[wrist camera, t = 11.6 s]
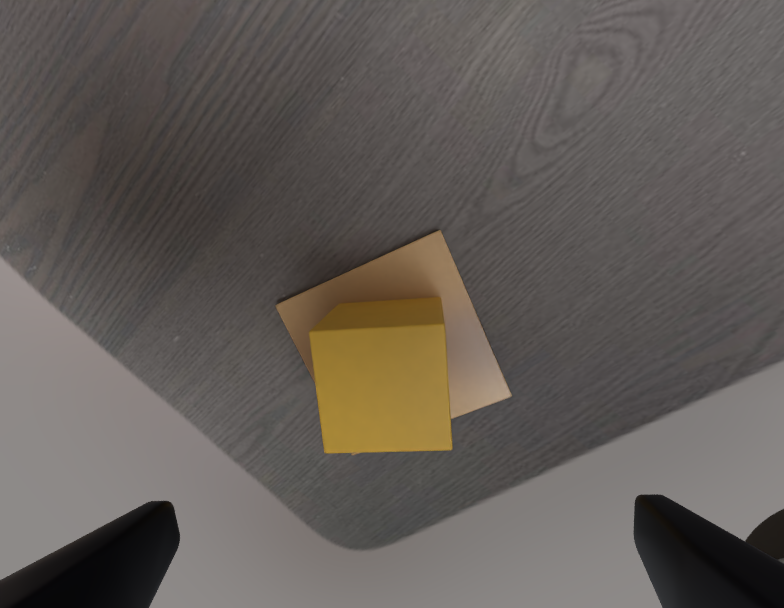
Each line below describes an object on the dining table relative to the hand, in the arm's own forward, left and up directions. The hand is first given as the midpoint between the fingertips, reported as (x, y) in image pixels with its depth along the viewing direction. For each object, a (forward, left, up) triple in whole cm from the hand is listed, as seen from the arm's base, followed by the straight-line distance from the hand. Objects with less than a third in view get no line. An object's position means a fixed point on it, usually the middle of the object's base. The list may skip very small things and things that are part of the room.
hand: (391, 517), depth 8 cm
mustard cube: (0, +1, -10) cm, 10 cm away
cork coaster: (0, +1, -11) cm, 11 cm away
